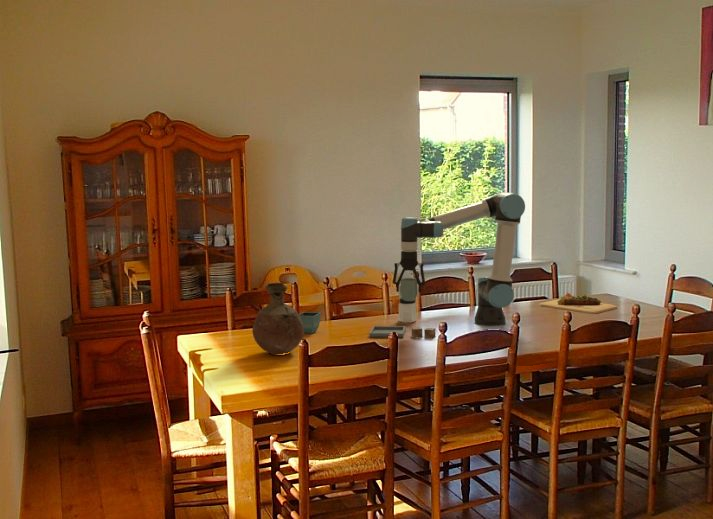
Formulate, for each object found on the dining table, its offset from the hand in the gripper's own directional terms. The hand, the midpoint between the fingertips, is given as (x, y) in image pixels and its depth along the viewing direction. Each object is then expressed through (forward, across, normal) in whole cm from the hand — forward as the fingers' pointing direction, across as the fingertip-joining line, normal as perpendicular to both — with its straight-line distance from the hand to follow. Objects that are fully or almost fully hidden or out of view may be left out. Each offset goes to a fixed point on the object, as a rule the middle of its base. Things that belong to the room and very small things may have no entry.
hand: (408, 298), depth 360 cm
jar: (+16, +2, -27) cm, 32 cm away
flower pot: (+17, +48, +1) cm, 51 cm away
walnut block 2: (+16, -10, +9) cm, 21 cm away
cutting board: (+15, -86, -67) cm, 110 cm away
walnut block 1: (+16, -4, +8) cm, 19 cm away
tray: (+16, +10, +3) cm, 19 cm away
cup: (+1, 0, 0) cm, 1 cm away
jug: (+18, +52, +42) cm, 69 cm away
